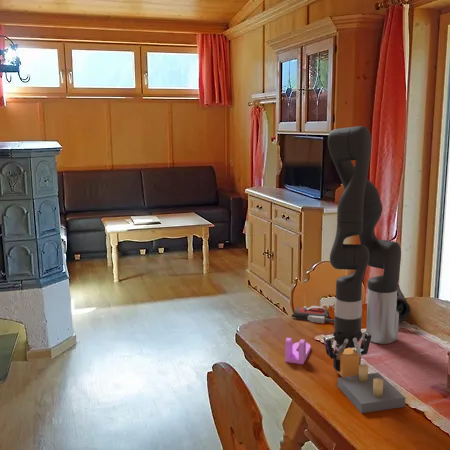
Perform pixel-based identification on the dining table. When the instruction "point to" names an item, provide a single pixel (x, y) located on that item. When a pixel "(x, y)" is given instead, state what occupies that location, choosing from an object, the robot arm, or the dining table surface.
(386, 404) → the mounting plate
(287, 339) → the bracket
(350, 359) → the orange wooden cube
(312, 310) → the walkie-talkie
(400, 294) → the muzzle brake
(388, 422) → the dining table surface
